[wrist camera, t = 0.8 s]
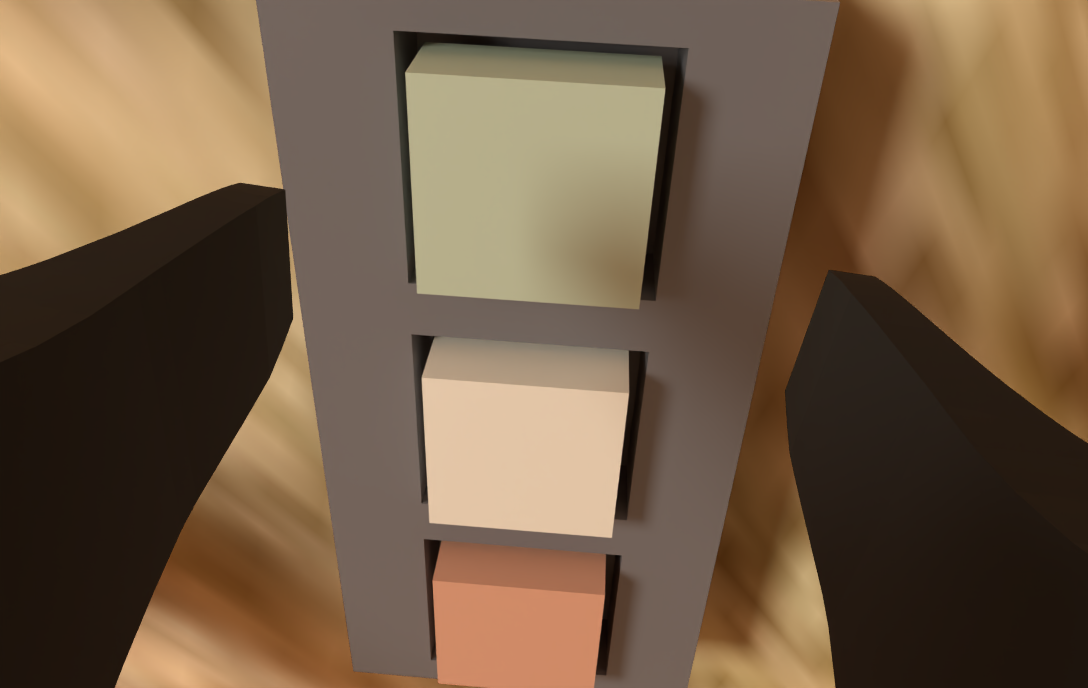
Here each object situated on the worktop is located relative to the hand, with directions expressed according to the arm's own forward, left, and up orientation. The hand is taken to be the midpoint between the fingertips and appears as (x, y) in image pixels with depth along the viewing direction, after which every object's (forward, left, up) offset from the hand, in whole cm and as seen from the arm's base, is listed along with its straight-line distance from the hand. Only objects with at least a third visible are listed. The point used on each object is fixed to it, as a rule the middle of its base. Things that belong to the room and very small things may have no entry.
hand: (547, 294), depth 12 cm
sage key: (-1, -1, -6) cm, 7 cm away
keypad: (-1, -7, -9) cm, 11 cm away
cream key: (-1, -7, -6) cm, 10 cm away
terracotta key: (-1, -14, -6) cm, 15 cm away
